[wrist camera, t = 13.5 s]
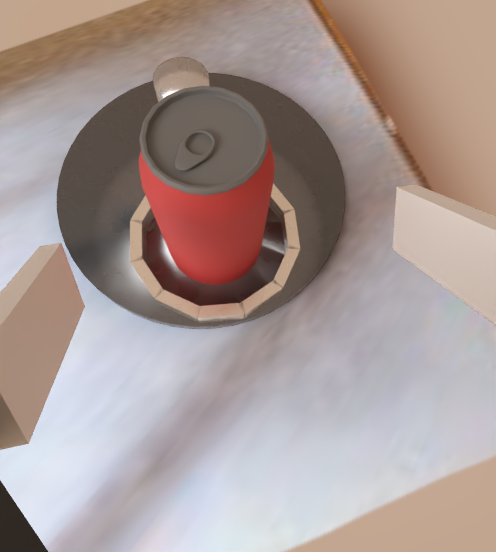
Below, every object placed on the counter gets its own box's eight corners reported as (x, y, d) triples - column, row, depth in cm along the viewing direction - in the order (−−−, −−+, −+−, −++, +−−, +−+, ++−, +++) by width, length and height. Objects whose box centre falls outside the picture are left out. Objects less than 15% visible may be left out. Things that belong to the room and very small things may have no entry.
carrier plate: (4, 252, 28) (-44, 221, 23) (150, 51, 35) (137, -7, 30) (276, 381, 26) (286, 376, 21) (377, 140, 33) (403, 93, 28)
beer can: (151, 256, 27) (94, 152, 16) (204, 189, 29) (186, 53, 18) (228, 305, 26) (226, 231, 15) (277, 232, 28) (308, 118, 17)
